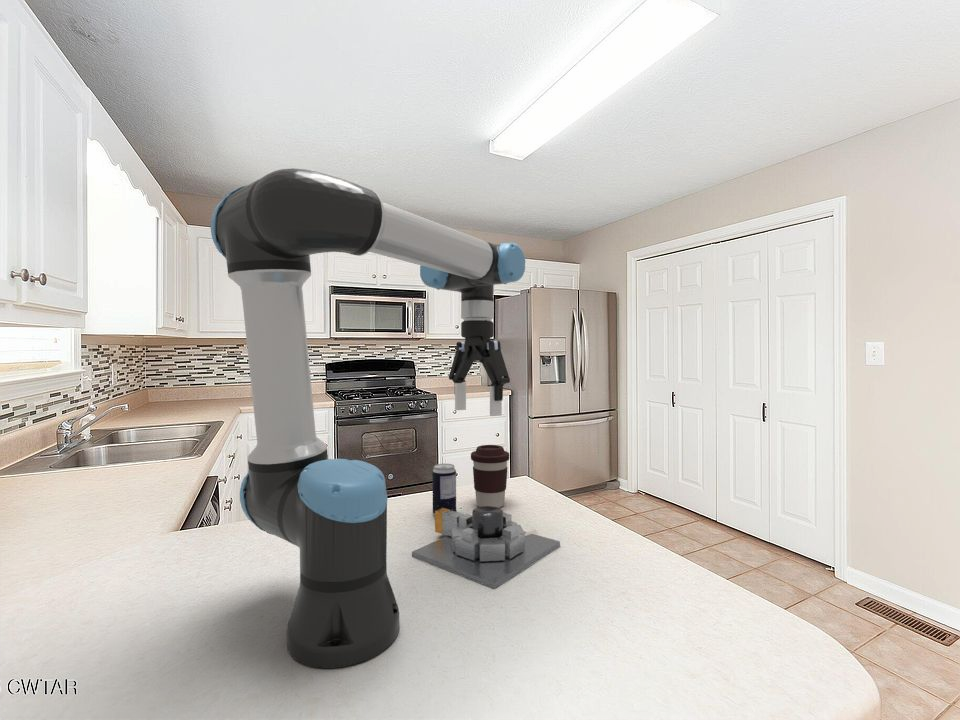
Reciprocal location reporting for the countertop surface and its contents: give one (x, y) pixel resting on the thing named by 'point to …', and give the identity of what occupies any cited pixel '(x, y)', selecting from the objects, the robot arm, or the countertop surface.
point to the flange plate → (486, 571)
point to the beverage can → (444, 487)
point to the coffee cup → (490, 475)
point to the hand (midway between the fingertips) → (477, 412)
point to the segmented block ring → (474, 547)
